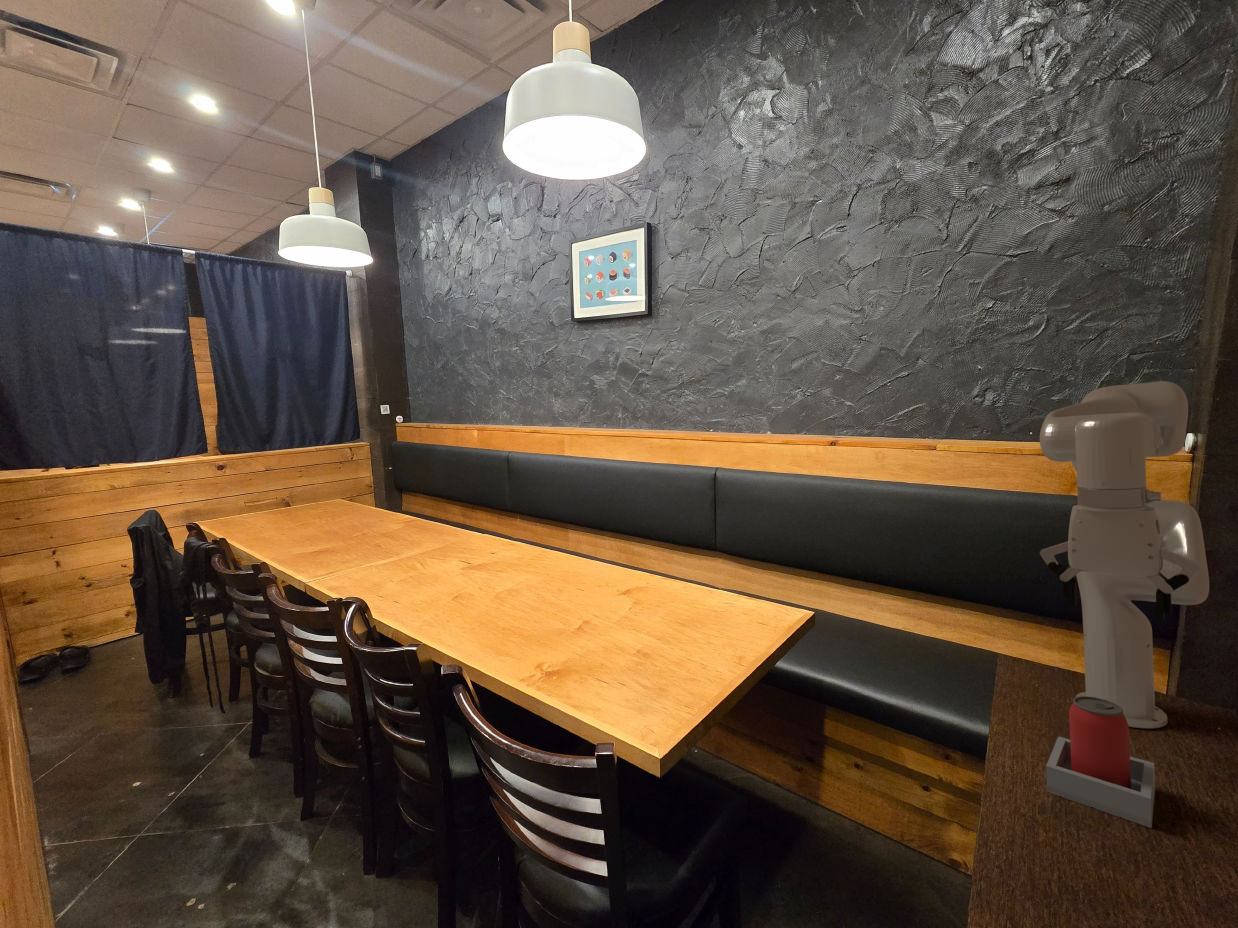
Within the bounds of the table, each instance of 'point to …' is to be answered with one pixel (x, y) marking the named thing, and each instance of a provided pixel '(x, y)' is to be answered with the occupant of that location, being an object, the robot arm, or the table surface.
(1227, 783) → the table surface
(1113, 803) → the tray
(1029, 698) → the table surface
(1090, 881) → the table surface
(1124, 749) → the beer can
